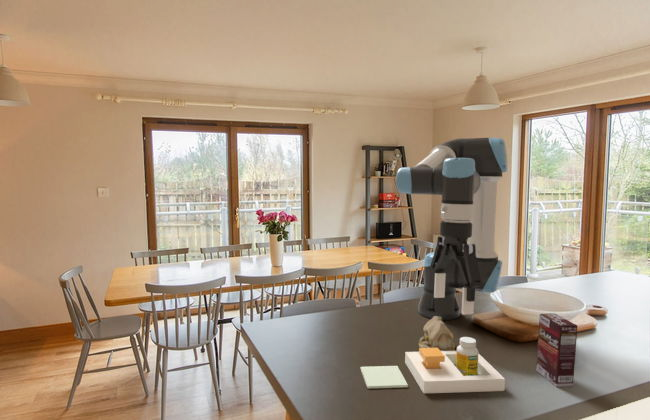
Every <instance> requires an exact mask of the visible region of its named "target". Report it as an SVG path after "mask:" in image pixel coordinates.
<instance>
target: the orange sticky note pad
mask: <svg viewBox="0 0 650 420" xmlns="http://www.w3.org/2000/svg"><path fill="white" fill-rule="evenodd" d="M418 352H419V354H420V356H421V357H422V359H423V365H424V367H425V368H426V369H439V368H440V362H445V356H444V355H443V353H442V352H441V351H440V350H439V349H438V348H420V347H419V348H418Z"/></svg>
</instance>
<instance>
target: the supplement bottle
mask: <svg viewBox="0 0 650 420" xmlns="http://www.w3.org/2000/svg"><path fill="white" fill-rule="evenodd" d="M476 346H477V341H476V339H475V338H473V337H469V336H462V337H460V338H459V345H458V346H457V347H456V351H457V352H456V365H455V367H456V368H457V369H458V370H459V371H460V372H461V374H462V375H463V376H478V373H477V372H478V353H479V350H478V348H477V347H476Z"/></svg>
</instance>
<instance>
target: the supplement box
mask: <svg viewBox="0 0 650 420" xmlns="http://www.w3.org/2000/svg"><path fill="white" fill-rule="evenodd" d="M538 320H539V321H538V322H539V324H538V339H537V353H536V354H537V355H536V369H535V370H536V372H538V373H539V374H540V375H541V376H543V377H544V378H545V379H546V380H548V381H549V382H550V383H551V384H553V386H554V387H556V388H557V387H558V388H561V387H563V388H565V387H573V386H574V377H575V363H576V350H577V349H576V348H577V337H578V324H576V323H573V322H572V321H569V320H567V319H566V318H564V317H563V316H560V315H558V314H557V313H555V312H554V313H552V312H551V313H539V319H538Z"/></svg>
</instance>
